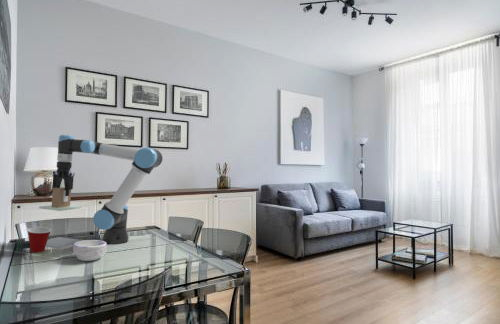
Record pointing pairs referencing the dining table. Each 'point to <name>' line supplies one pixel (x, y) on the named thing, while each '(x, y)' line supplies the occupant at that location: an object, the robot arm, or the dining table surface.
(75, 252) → the paper bowls
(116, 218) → the robot arm
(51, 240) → the mat
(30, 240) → the plastic cup
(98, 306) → the dining table surface
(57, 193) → the lid
